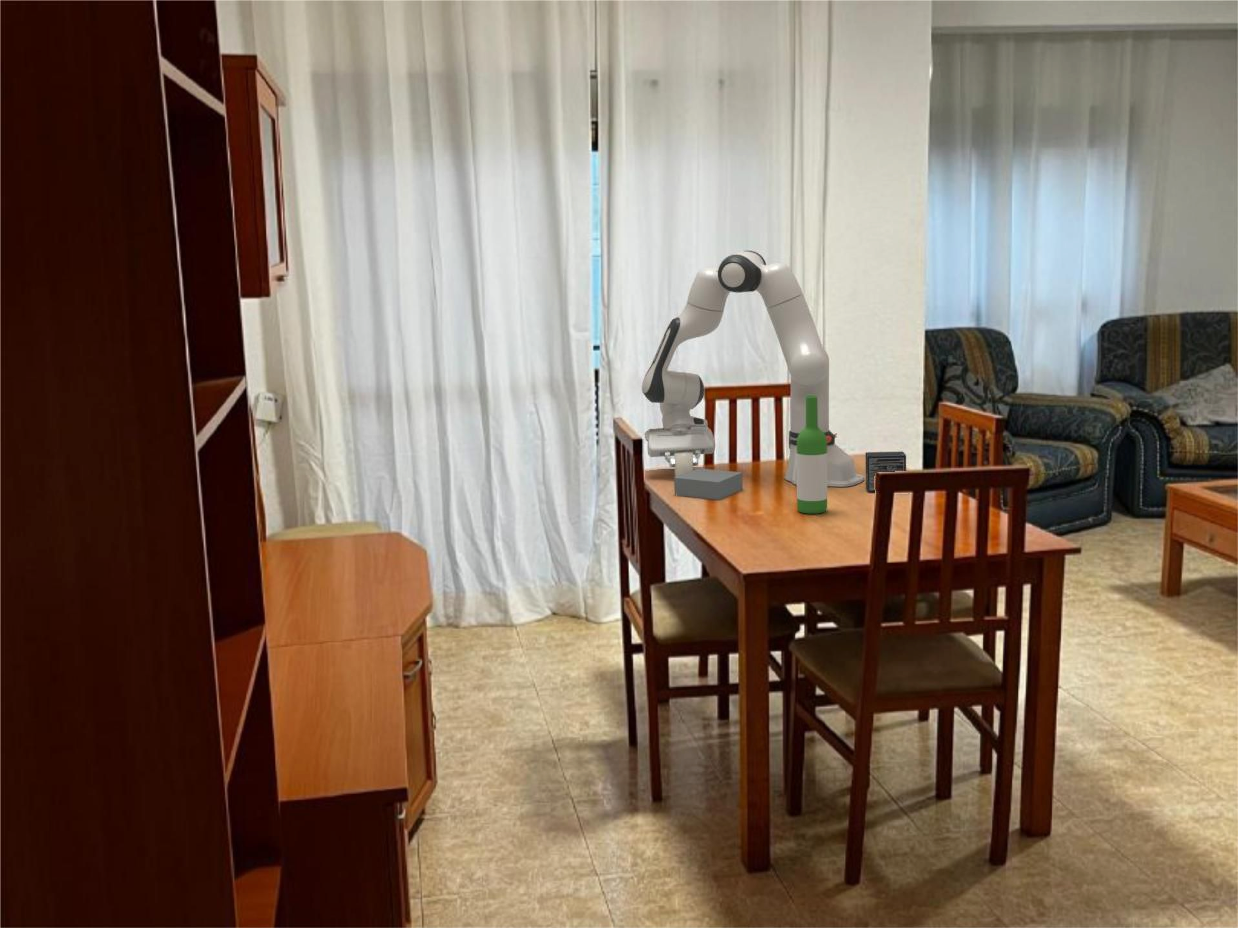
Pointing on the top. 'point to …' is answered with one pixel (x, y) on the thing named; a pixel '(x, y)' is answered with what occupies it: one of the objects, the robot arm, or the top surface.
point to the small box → (882, 465)
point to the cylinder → (683, 463)
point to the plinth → (708, 484)
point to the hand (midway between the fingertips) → (684, 465)
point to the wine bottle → (811, 463)
